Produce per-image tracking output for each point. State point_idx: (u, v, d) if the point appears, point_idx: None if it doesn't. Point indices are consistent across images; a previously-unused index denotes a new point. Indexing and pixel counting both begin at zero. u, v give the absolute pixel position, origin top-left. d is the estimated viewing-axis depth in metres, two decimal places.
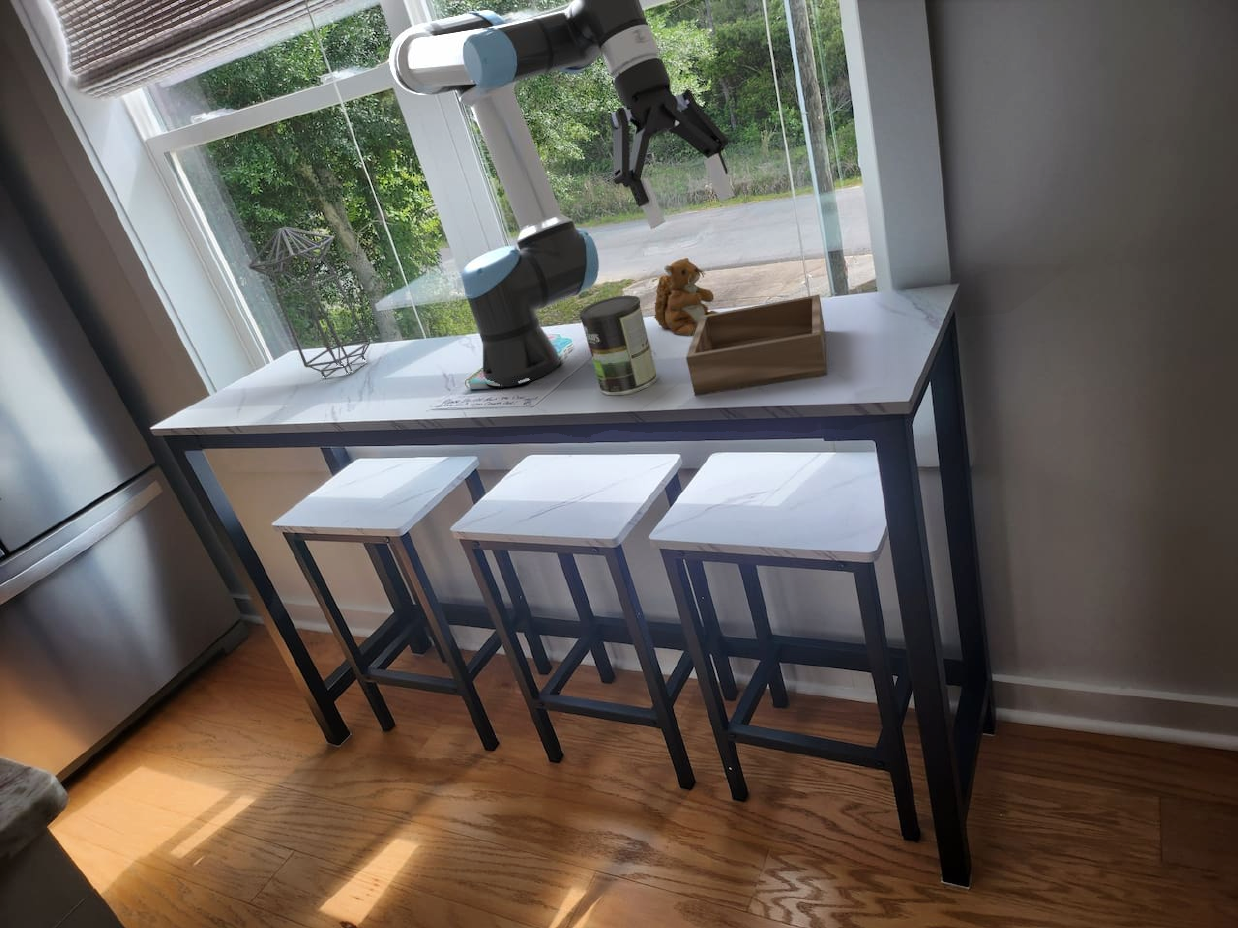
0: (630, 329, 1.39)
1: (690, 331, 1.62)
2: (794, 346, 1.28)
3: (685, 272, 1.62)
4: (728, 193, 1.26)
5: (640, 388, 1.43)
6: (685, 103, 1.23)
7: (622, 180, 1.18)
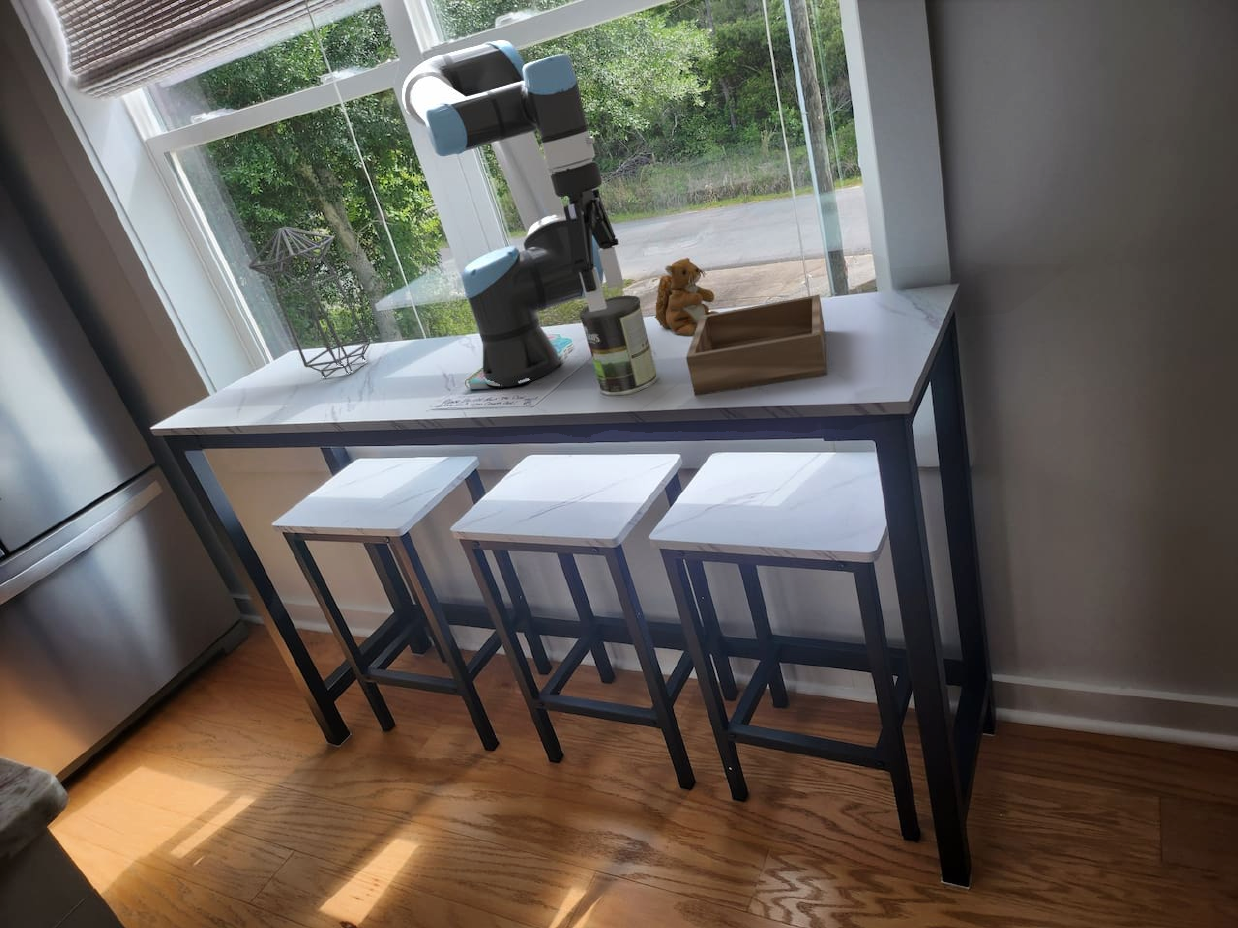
0: (630, 329, 1.39)
1: (690, 332, 1.62)
2: (794, 346, 1.28)
3: (685, 272, 1.62)
4: (621, 281, 1.46)
5: (640, 388, 1.43)
6: None
7: (583, 269, 1.29)
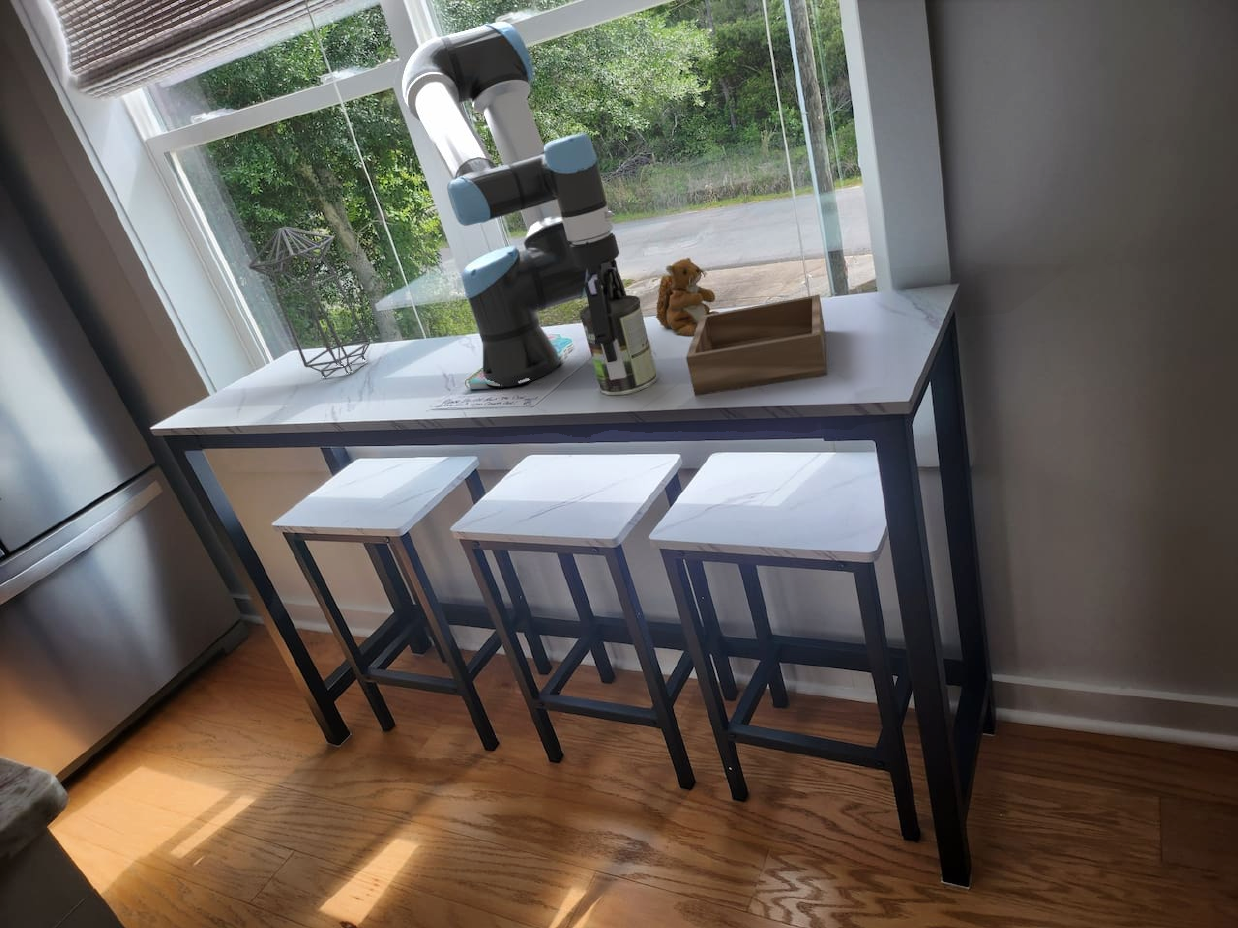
0: (630, 329, 1.39)
1: (690, 332, 1.62)
2: (794, 346, 1.28)
3: (686, 272, 1.62)
4: None
5: (640, 388, 1.43)
6: None
7: (605, 342, 1.36)
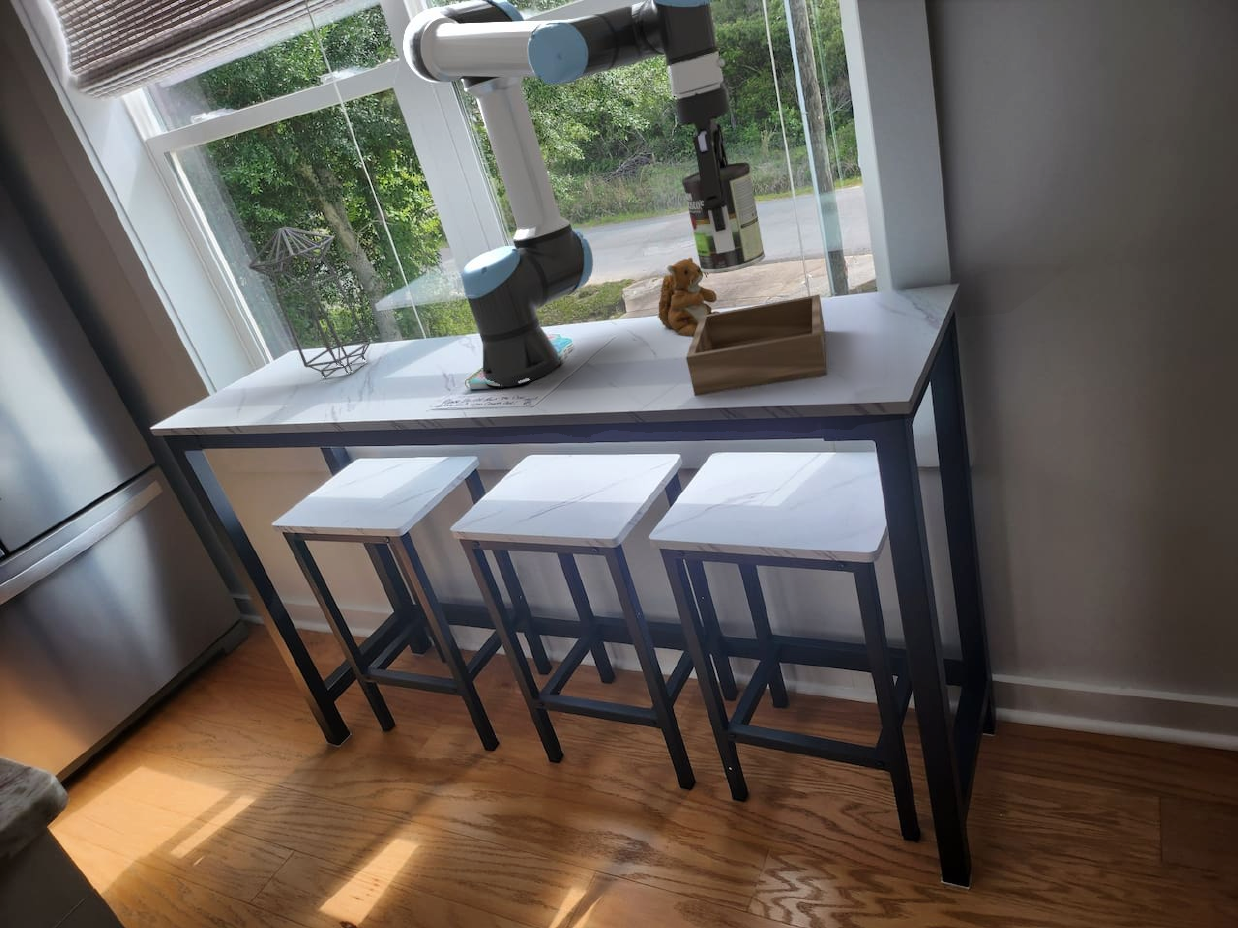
0: (740, 195, 1.25)
1: (691, 332, 1.62)
2: (794, 346, 1.28)
3: (687, 272, 1.61)
4: None
5: (748, 264, 1.29)
6: None
7: (715, 205, 1.22)
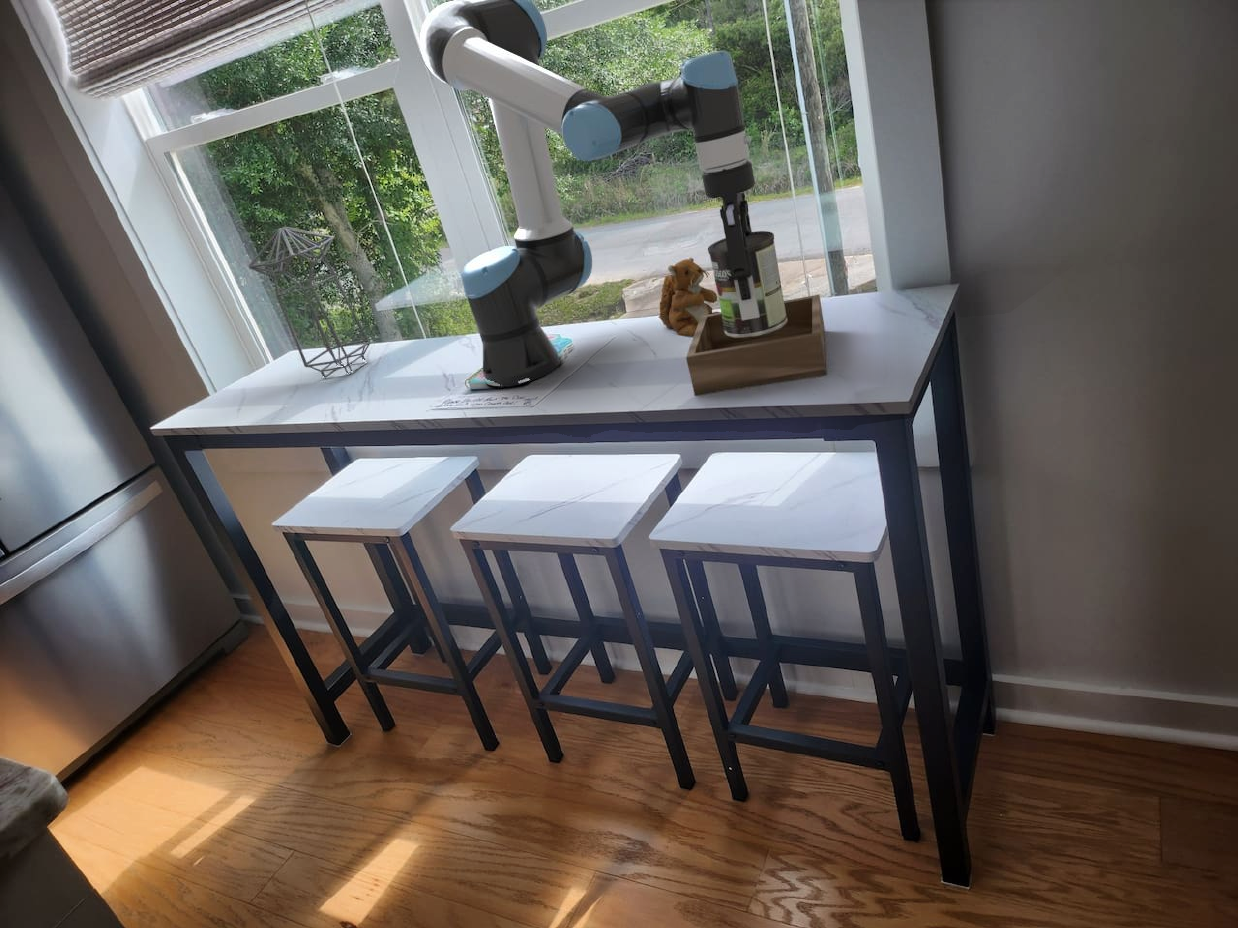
0: (765, 265, 1.30)
1: (691, 332, 1.61)
2: (794, 346, 1.28)
3: (688, 272, 1.61)
4: None
5: (772, 329, 1.34)
6: None
7: (742, 277, 1.27)
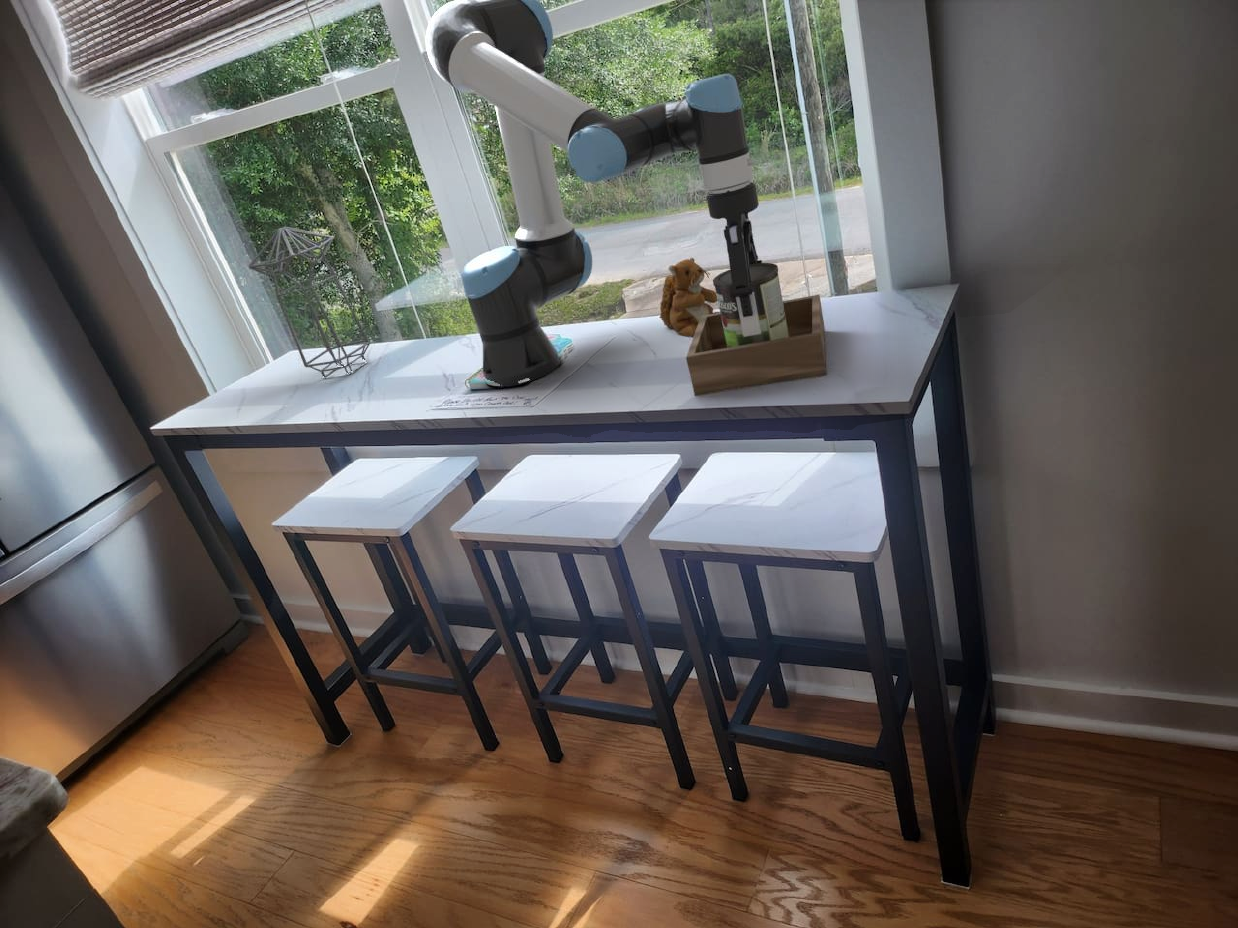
0: (769, 297, 1.32)
1: (692, 333, 1.61)
2: (794, 346, 1.28)
3: (689, 272, 1.61)
4: None
5: None
6: None
7: (744, 294, 1.26)
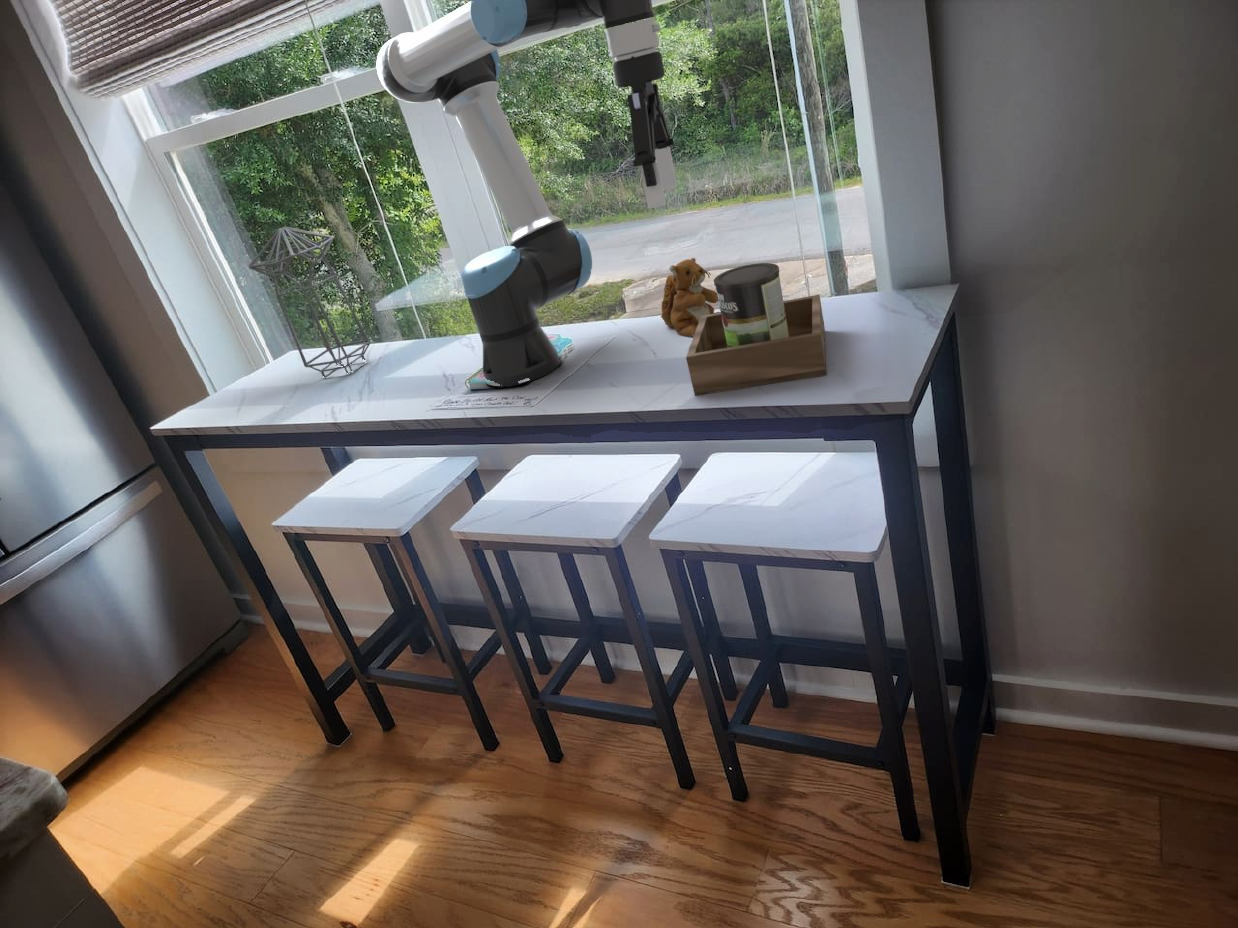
0: (770, 297, 1.32)
1: (692, 333, 1.61)
2: (794, 346, 1.28)
3: (689, 272, 1.61)
4: (674, 183, 1.43)
5: None
6: None
7: (646, 161, 1.26)
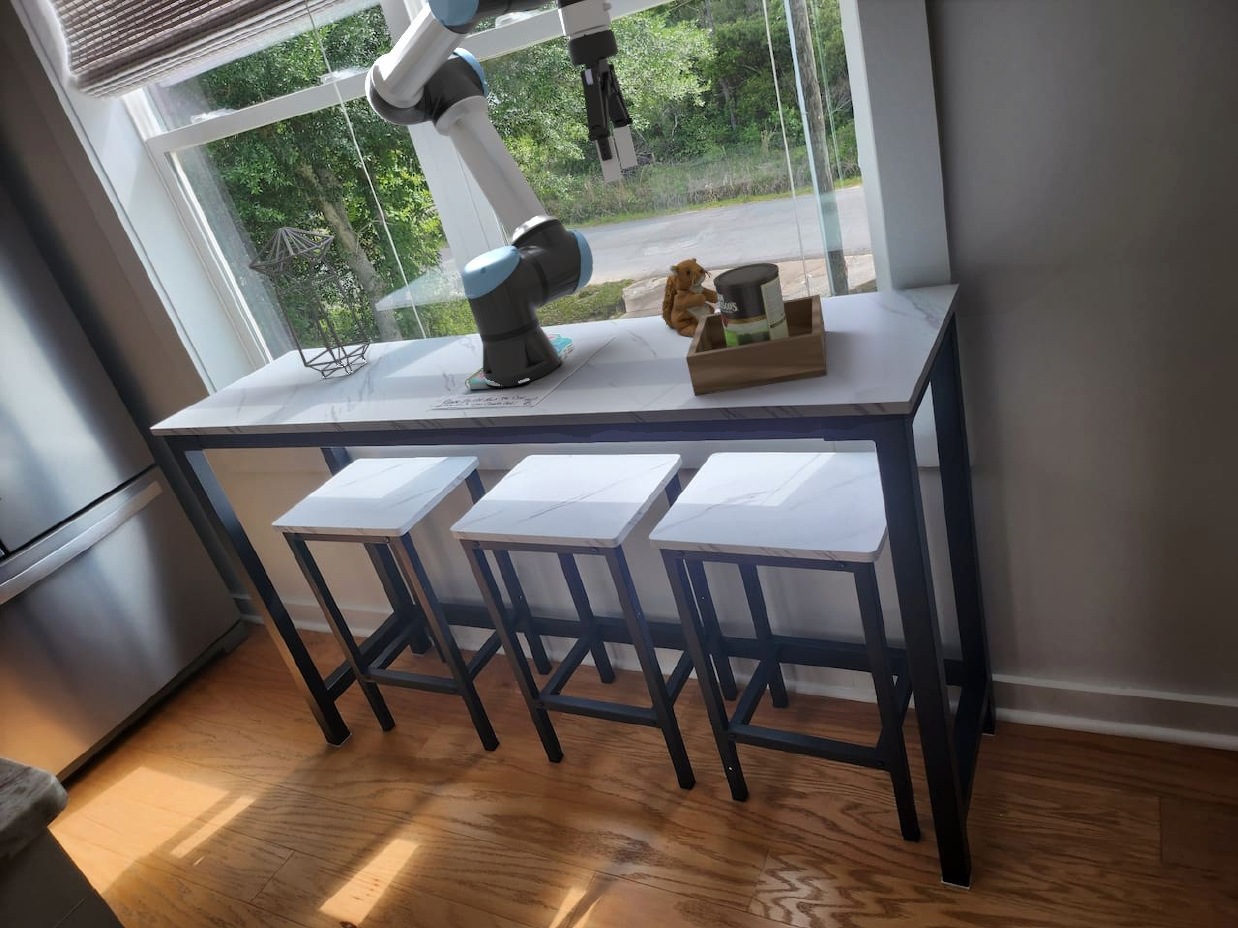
0: (770, 297, 1.32)
1: (692, 333, 1.61)
2: (794, 346, 1.28)
3: (690, 272, 1.60)
4: (635, 162, 1.46)
5: None
6: None
7: (599, 134, 1.29)
